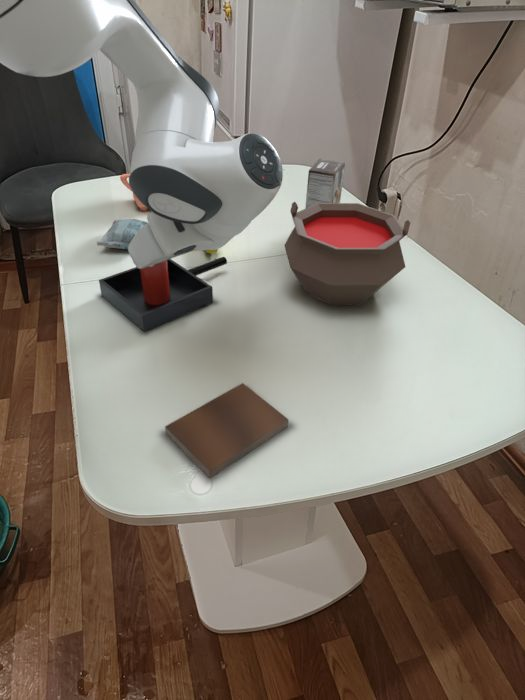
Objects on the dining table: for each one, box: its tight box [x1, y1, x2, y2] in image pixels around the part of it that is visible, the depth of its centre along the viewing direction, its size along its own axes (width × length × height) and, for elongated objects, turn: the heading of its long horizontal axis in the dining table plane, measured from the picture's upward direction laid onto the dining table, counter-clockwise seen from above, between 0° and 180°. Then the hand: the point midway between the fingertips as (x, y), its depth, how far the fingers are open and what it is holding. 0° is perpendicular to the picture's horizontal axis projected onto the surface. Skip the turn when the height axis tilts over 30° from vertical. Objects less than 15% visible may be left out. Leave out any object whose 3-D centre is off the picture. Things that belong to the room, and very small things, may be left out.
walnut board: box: [164, 382, 289, 479], centre depth 72 cm, size 14×10×2 cm
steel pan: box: [98, 256, 228, 333], centre depth 99 cm, size 24×15×4 cm, turn 132°
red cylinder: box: [140, 260, 170, 305], centre depth 94 cm, size 5×5×11 cm
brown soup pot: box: [284, 201, 411, 306], centre depth 99 cm, size 24×24×16 cm
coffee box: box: [304, 158, 346, 209], centre depth 119 cm, size 9×6×16 cm
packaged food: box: [96, 218, 148, 251], centre depth 114 cm, size 9×12×5 cm
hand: (175, 253), depth 86 cm, fingers open, 8 cm apart
